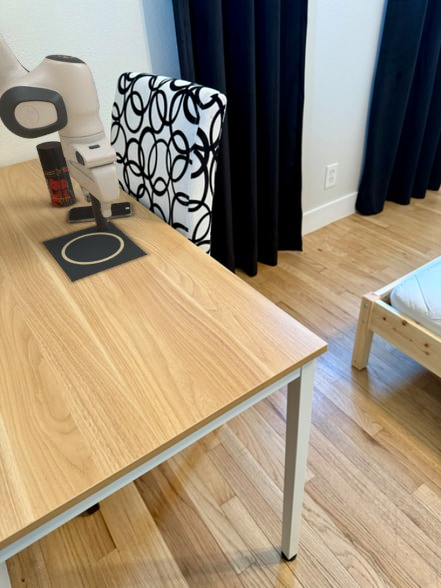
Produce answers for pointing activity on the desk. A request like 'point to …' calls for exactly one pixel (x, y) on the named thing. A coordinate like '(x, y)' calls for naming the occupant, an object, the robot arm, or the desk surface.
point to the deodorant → (56, 174)
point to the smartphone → (87, 213)
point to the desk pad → (92, 251)
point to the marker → (98, 215)
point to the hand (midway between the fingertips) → (98, 208)
